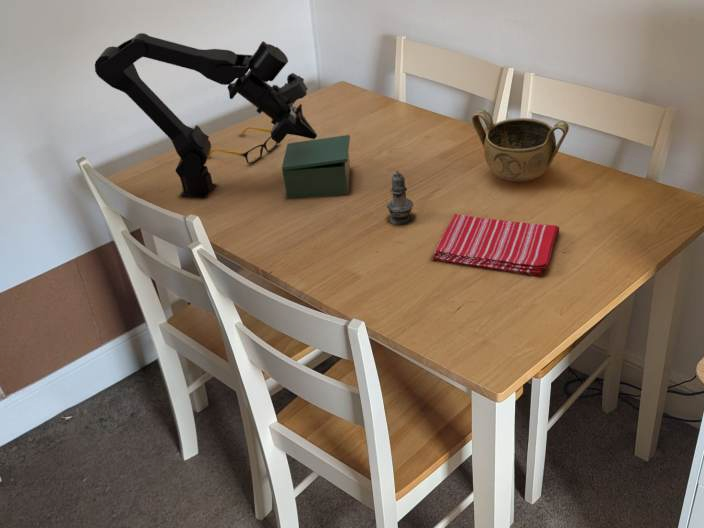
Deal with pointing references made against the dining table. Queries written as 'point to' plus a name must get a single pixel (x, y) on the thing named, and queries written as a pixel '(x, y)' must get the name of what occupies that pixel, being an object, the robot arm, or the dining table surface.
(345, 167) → the tin
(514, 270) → the dish towel
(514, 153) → the ceramic bowl
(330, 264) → the dining table surface
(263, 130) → the eyeglasses
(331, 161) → the lid
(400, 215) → the dark grey tall piece
